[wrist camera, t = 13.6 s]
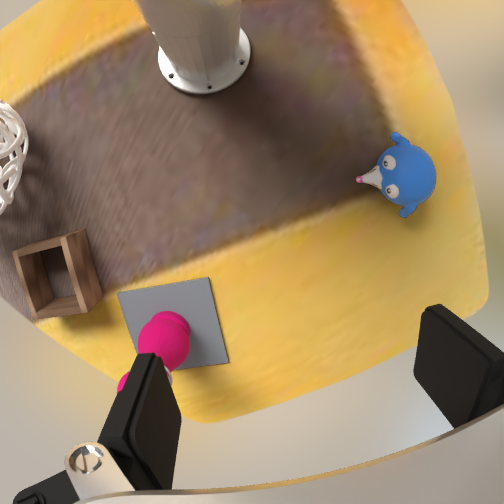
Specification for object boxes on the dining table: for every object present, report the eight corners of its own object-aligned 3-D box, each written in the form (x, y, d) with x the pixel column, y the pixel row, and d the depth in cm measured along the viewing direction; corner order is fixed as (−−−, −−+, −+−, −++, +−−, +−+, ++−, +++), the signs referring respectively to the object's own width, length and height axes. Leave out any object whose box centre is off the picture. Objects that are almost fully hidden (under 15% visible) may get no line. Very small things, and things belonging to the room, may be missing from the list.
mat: (118, 292, 44) (116, 293, 43) (208, 276, 44) (207, 278, 43) (145, 370, 47) (144, 372, 47) (228, 360, 47) (228, 362, 47)
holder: (33, 242, 41) (12, 251, 35) (84, 228, 41) (65, 236, 36) (51, 305, 44) (33, 319, 38) (103, 296, 44) (87, 312, 38)
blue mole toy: (338, 137, 41) (361, 128, 32) (409, 133, 41) (441, 128, 33) (349, 221, 43) (373, 231, 35) (418, 211, 44) (450, 219, 35)
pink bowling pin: (172, 358, 46) (145, 452, 27) (137, 328, 45) (88, 413, 25) (203, 330, 45) (187, 424, 26) (166, 297, 44) (124, 379, 24)
